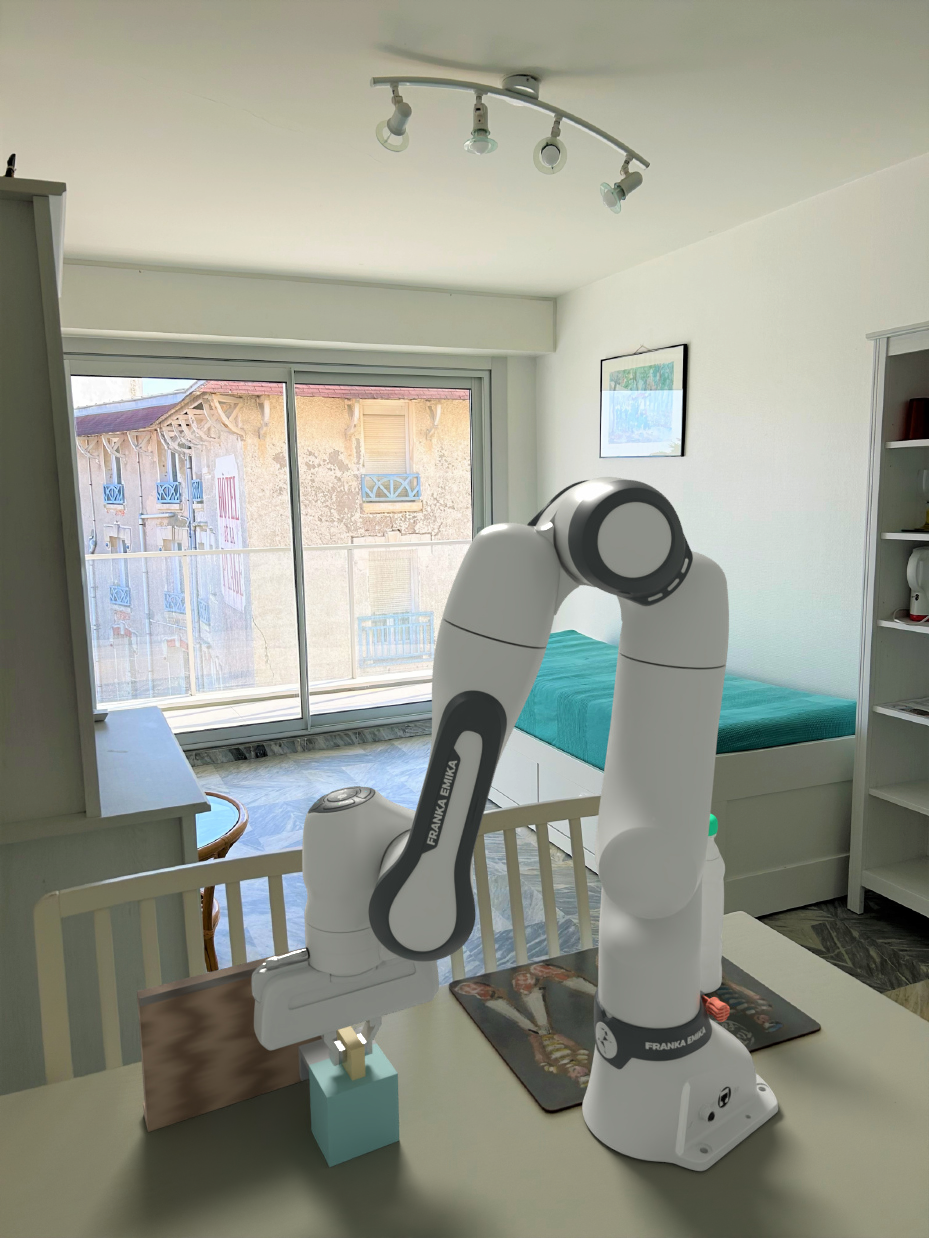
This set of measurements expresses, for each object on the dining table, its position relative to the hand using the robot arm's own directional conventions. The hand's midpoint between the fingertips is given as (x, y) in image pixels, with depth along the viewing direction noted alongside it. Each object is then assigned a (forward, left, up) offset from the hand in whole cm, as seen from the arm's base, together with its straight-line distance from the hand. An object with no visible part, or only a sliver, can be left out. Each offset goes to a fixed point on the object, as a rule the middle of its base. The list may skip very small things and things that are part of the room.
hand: (351, 1057), depth 96 cm
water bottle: (-54, -5, -9) cm, 55 cm away
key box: (0, -1, -9) cm, 9 cm away
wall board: (+8, -12, -9) cm, 17 cm away
